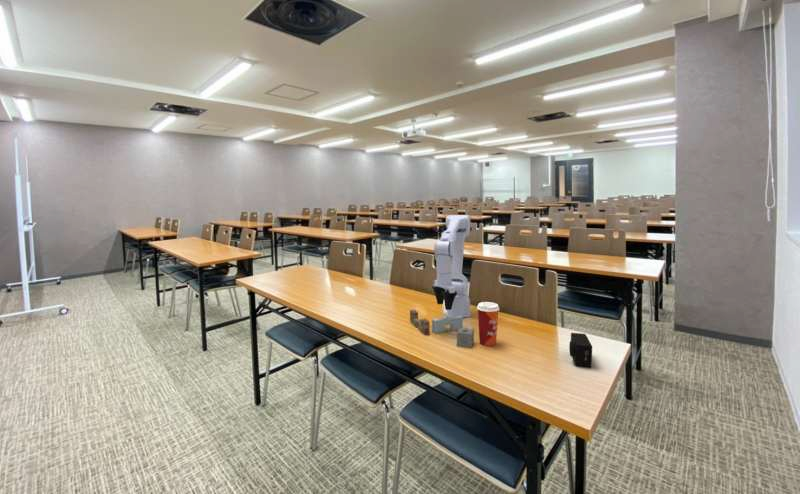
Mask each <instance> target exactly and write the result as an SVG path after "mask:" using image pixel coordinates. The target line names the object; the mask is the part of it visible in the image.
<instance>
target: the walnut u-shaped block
mask: <svg viewBox="0 0 800 494" xmlns="http://www.w3.org/2000/svg"><path fill="white" fill-rule="evenodd" d="M409 314H410V315H409V322H410V323H411V324H412V325H413V326H414V327H415V328H417V329H418V330H419V332H421V333H422V334H423V335H424V336H428V335H430V320H428V319H427V318H426V317H425V318H420V319H419V312H418V311H417V310H416V309H410V310H409Z"/></svg>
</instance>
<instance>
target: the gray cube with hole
mask: <svg viewBox="0 0 800 494" xmlns="http://www.w3.org/2000/svg"><path fill="white" fill-rule="evenodd" d="M474 342H475V330H474V328H467V327H463V328H459V330H456V347H461V348H470V349H472V348H473V345H474V344H475V343H474Z"/></svg>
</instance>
